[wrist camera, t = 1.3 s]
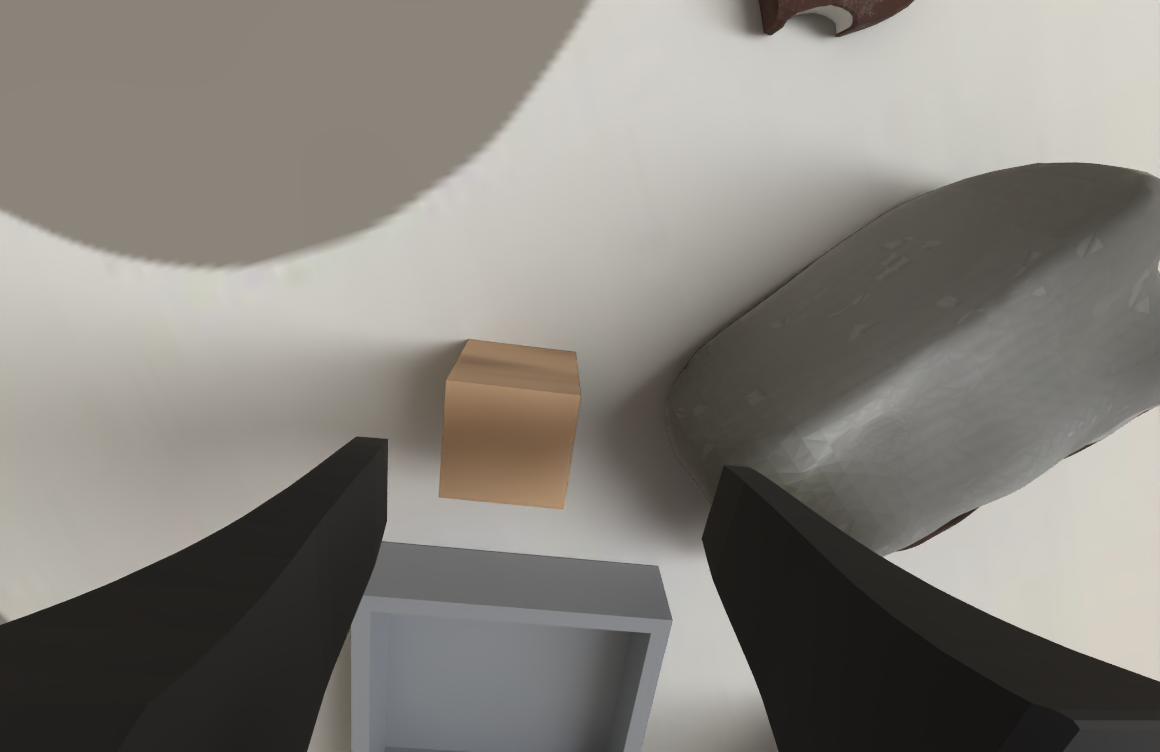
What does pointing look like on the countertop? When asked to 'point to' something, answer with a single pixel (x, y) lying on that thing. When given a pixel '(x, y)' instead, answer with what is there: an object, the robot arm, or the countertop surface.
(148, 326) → the countertop surface
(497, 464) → the walnut block
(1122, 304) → the grey rounded lump
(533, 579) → the bin
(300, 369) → the countertop surface
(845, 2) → the ice cream bar
